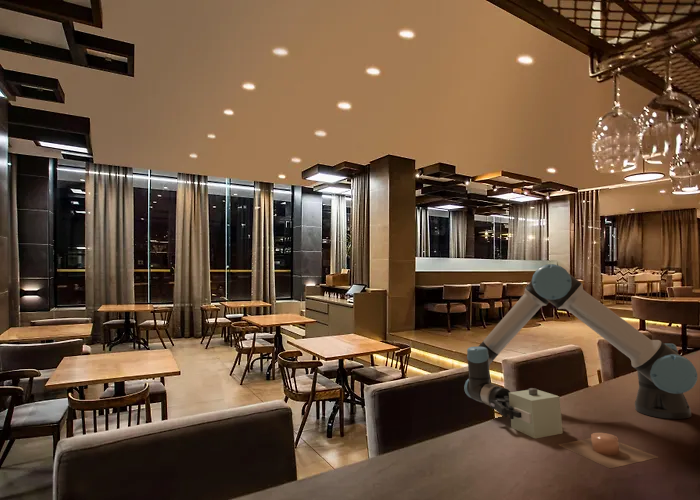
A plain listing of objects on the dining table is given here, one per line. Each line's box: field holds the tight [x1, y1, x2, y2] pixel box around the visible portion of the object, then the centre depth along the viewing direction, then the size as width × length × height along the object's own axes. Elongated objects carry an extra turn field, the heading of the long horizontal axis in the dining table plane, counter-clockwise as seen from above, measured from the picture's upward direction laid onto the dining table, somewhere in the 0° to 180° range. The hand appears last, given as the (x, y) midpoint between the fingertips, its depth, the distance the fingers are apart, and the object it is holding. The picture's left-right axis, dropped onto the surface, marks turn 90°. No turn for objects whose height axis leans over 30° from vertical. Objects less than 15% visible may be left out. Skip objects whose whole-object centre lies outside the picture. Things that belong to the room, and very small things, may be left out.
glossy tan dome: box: [590, 432, 619, 455], centre depth 107 cm, size 6×6×4 cm
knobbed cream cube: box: [509, 387, 564, 439], centre depth 124 cm, size 10×10×13 cm
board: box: [557, 437, 660, 470], centre depth 106 cm, size 16×16×1 cm
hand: (545, 415), depth 119 cm, fingers closed on knobbed cream cube, 10 cm apart
